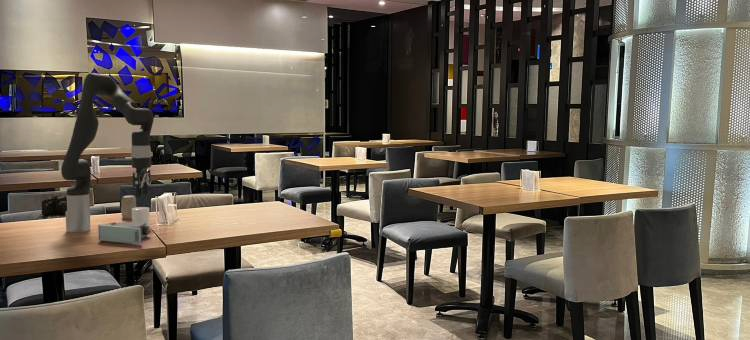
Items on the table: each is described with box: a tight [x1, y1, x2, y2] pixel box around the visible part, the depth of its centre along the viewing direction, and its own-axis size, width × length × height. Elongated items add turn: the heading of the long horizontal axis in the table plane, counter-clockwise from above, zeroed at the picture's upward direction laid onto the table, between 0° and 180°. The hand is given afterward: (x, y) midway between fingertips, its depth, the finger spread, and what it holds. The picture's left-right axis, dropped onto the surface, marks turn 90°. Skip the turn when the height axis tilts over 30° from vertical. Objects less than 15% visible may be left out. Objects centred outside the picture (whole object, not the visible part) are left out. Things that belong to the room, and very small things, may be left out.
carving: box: [120, 195, 137, 220], centre depth 291 cm, size 6×8×12 cm
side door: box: [97, 224, 142, 245], centre depth 235 cm, size 21×2×6 cm, turn 73°
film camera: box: [41, 194, 67, 216], centre depth 307 cm, size 18×12×10 cm
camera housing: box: [105, 222, 150, 240], centre depth 245 cm, size 17×9×7 cm, turn 93°
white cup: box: [131, 206, 151, 227], centre depth 265 cm, size 8×8×10 cm
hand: (142, 195), depth 236 cm, fingers open, 7 cm apart
